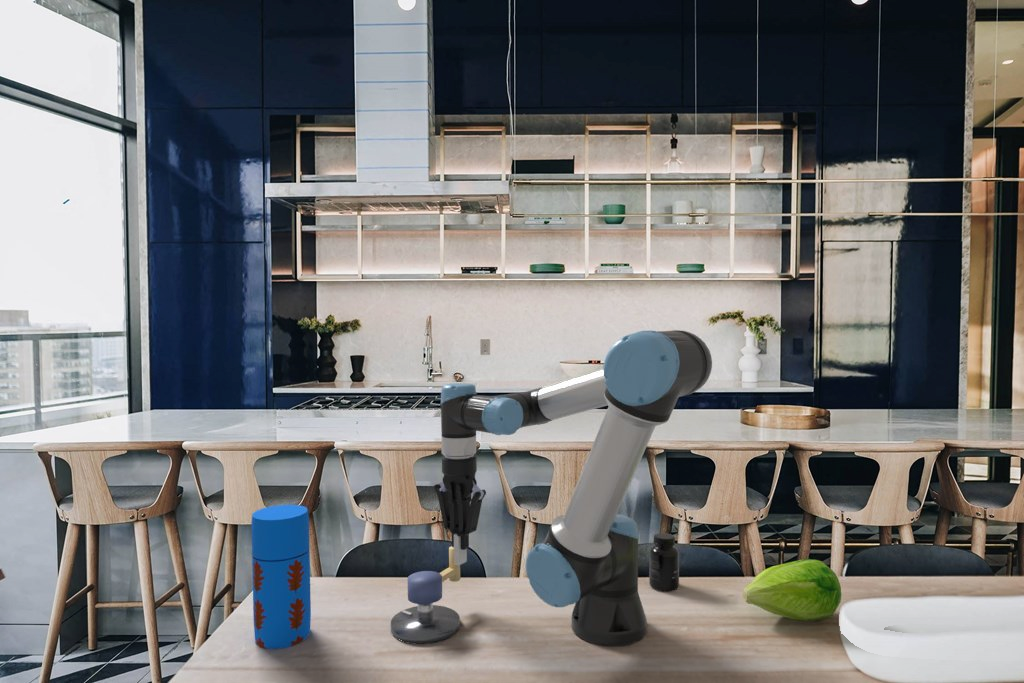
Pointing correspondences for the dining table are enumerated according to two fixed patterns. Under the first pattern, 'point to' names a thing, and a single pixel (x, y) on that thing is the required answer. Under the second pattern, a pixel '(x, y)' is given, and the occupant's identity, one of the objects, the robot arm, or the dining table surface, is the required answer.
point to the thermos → (281, 575)
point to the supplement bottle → (664, 563)
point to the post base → (425, 624)
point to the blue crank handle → (431, 582)
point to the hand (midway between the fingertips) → (460, 562)
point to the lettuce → (796, 590)
